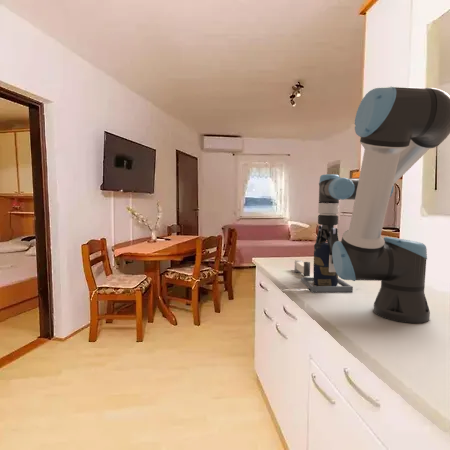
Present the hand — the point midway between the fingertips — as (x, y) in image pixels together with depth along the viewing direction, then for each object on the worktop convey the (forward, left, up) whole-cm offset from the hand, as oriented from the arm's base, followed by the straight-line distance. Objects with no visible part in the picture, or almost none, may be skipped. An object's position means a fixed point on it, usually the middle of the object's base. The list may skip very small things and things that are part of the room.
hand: (326, 268), depth 130 cm
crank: (+18, +4, -7) cm, 20 cm away
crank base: (+24, +4, -8) cm, 26 cm away
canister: (0, 0, -7) cm, 7 cm away
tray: (0, 0, -8) cm, 8 cm away
